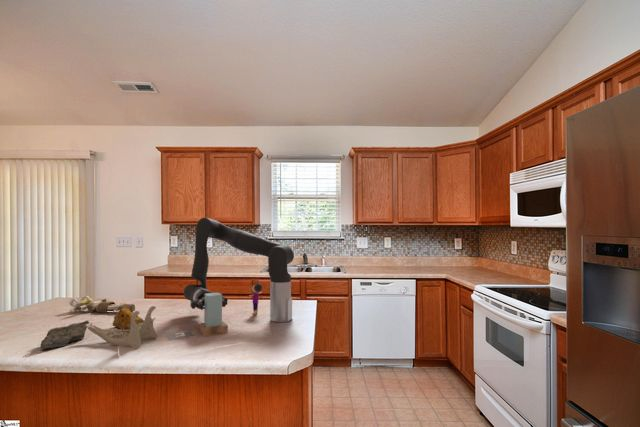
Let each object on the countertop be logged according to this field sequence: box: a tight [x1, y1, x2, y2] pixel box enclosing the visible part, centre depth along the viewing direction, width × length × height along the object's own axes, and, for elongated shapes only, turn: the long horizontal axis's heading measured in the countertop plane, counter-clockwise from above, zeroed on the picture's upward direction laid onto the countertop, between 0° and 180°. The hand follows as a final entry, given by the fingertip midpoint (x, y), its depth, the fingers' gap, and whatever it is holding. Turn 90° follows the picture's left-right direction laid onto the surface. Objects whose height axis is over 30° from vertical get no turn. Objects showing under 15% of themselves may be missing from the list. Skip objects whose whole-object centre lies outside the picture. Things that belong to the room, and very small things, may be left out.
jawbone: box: [85, 305, 158, 349], centre depth 121 cm, size 25×10×14 cm, turn 81°
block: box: [203, 291, 223, 327], centre depth 133 cm, size 6×6×12 cm
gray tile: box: [165, 329, 195, 341], centre depth 128 cm, size 9×9×1 cm
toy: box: [248, 282, 263, 315], centre depth 159 cm, size 10×6×15 cm, turn 154°
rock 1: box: [39, 320, 90, 350], centre depth 120 cm, size 17×7×10 cm
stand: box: [198, 320, 229, 337], centre depth 132 cm, size 9×9×3 cm
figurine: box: [69, 295, 136, 314], centre depth 164 cm, size 24×7×30 cm
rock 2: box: [112, 308, 145, 330], centre depth 138 cm, size 11×8×10 cm
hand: (213, 305), depth 132 cm, fingers open, 8 cm apart
